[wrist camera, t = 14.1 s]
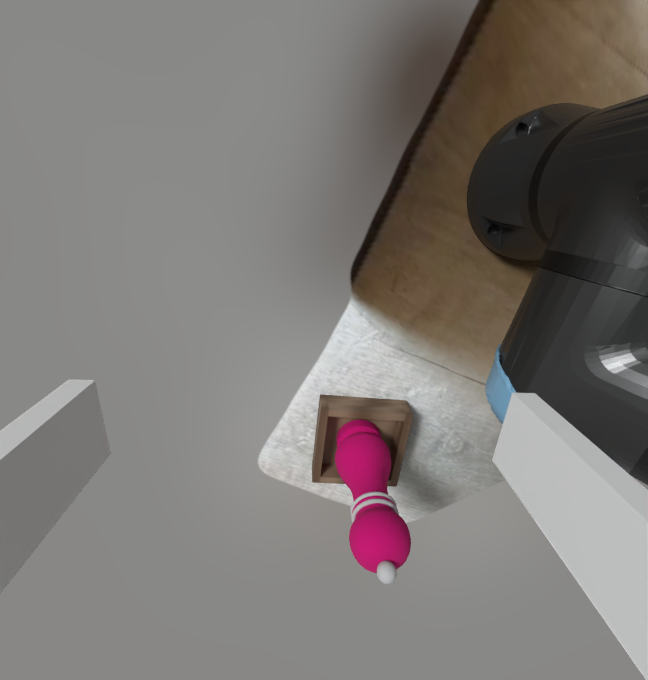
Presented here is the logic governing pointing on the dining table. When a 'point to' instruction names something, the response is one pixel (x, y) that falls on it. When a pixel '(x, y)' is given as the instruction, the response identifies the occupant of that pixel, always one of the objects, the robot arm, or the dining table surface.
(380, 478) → the pepper mill
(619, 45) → the dining table surface
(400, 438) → the holder tray
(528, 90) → the dining table surface
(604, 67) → the dining table surface
